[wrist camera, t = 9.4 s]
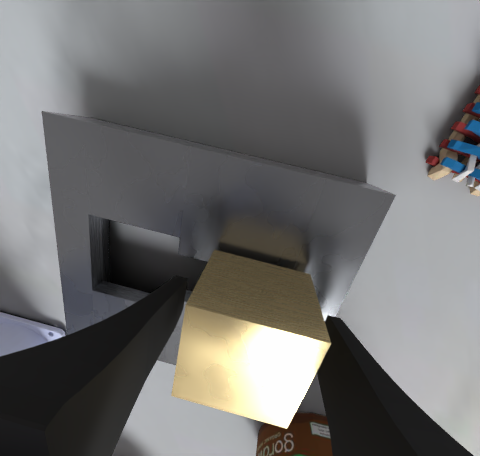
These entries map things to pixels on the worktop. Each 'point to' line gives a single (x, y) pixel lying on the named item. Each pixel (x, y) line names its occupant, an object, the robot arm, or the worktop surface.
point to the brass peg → (250, 339)
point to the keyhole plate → (196, 212)
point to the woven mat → (461, 150)
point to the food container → (296, 437)
